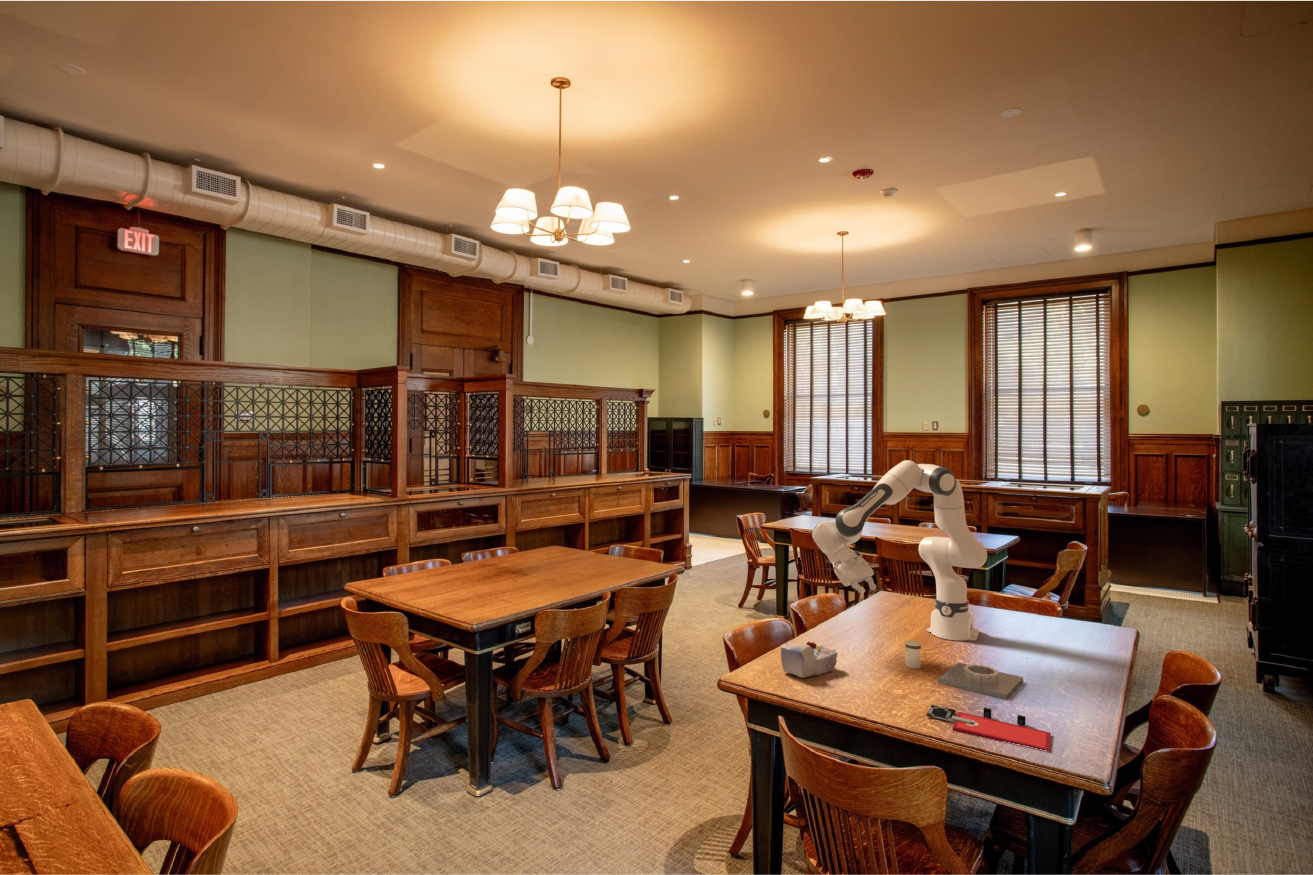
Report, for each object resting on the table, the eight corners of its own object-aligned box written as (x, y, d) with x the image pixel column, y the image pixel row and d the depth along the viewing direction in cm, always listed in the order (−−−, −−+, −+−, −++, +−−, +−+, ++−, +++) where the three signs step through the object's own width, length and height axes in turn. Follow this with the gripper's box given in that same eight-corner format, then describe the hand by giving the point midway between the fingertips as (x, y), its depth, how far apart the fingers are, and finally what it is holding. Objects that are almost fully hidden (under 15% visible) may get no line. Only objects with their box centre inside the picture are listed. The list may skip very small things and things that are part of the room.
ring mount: (958, 666, 227) (958, 655, 227) (1023, 681, 213) (1023, 669, 213) (938, 682, 212) (938, 670, 212) (1006, 699, 198) (1006, 686, 198)
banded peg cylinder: (908, 662, 231) (908, 639, 231) (922, 665, 227) (923, 642, 227) (902, 666, 227) (902, 643, 227) (917, 669, 224) (917, 646, 224)
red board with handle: (932, 705, 194) (923, 725, 181) (932, 696, 194) (923, 715, 181) (1050, 732, 178) (1049, 755, 165) (1051, 722, 178) (1049, 744, 165)
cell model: (776, 640, 219) (809, 630, 233) (775, 673, 219) (808, 660, 233) (810, 650, 210) (842, 638, 224) (809, 683, 210) (841, 670, 224)
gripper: (836, 558, 235) (862, 590, 229) (861, 551, 250) (886, 581, 244) (825, 569, 238) (850, 600, 232) (850, 561, 253) (874, 591, 247)
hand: (869, 590), depth 238 cm, fingers open, 8 cm apart
